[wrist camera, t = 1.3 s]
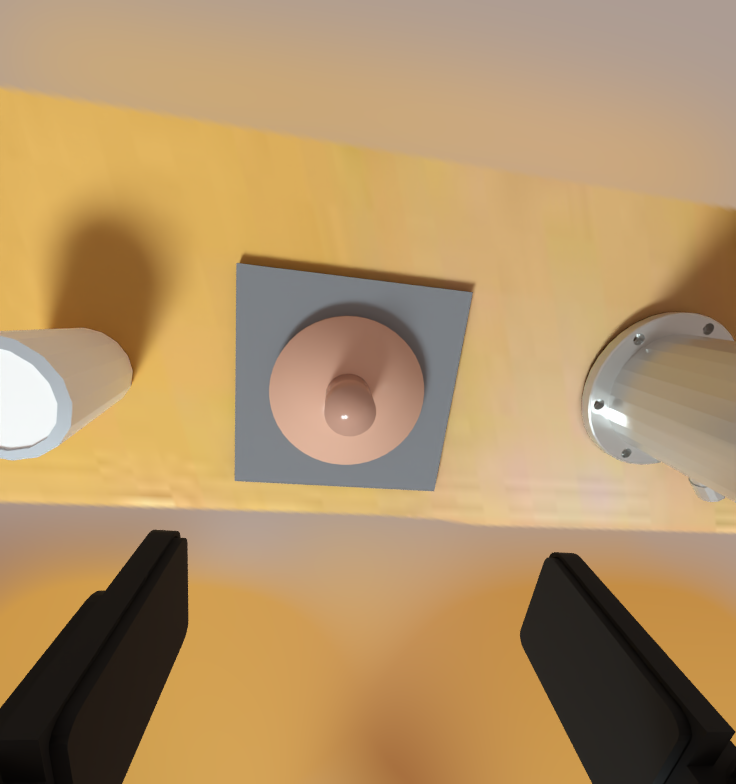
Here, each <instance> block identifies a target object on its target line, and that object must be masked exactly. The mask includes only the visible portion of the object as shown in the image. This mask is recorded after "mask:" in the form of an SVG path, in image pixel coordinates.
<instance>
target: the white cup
mask: <svg viewBox="0 0 736 784" xmlns="http://www.w3.org/2000/svg"><path fill="white" fill-rule="evenodd" d="M132 375H133V370H132V367H131V364H130V361H129V357H128V355H127V354H126V353H125V352H124V350H123V349H122V348H121V346H120V345H119V344H118V343H117V342H116V341H114V340H113V339H111V338H110V337H108V336H107V335H105V334H104V333H102V332H99V331H95V330H91V329H87V328H63V329H39V330H14V331H0V458H2V459H7V460H19V459H27V458H35V457H39V456H41V455H43V454H45V453H46V452H48V451H50V450H52V449H53V448H55V447H57V446H59V445H60V444H61V443H63V442H64V441H65V440H67V439H68V438H69V437H71V436H72V435H74V434H75V433H76V432H78V431H79V430H80V429H82V428H83V427H84V426H86V425H87V424H88V423H90V422H91V421H92V420H94V419H95V418H96V417H98V416H99V415H100V414H102V413H103V412H104V411H106V410H107V409H108V408H110V407H111V406H112V405H114V404H115V403H117V402H118V401H119V400H121V399H122V398H123V397H124V396H125V394H126V393H127V391H128V390H129V388H130V387H131V383H132Z"/></svg>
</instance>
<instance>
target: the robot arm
mask: <svg viewBox="0 0 736 784" xmlns="http://www.w3.org/2000/svg"><path fill="white" fill-rule="evenodd" d="M582 417H583V422H584V426H585V428H586V430H587V433H588V435H589V437H590V438H591V439H592V441H593V442H594V443H595V445H596V446H598V447H599V448H600V449H601V450H603V451H604V452H605V453H607V454H609V455H610V456H612V457H614V458H616V459H617V460H620V461H623V462H626V463H630V464H639V465H644V464H655V463H659V462H662V463H664V464H666V465H668V466H670V467H672V468H673V469H675V470H677V471H679V472H681V473H682V474H684V475H685V476H688V477H689V481H690V483H691V485H692V487H693V489H694V491H695V493H696V495H697V496H698V498H700V499H702V500H704V501H709V502H715V501H720V500H722V499H724V498H725V497H727V498H729V499H730V500H732V501H734V502H736V341H734V339H733V337H732V336H731V334H730V333H729V331H728V330H727V329H726V328H725V327H724V326H723V325H722V324H720V323H719V322H717V321H716V320H714V319H712V318H711V317H707V316H704V315H701V314H697V313H687V312H666V313H662V314H658V315H654V316H650V317H648V318H646V319H643V320H641V321H639V322H637V323H635V324H633V325H632V326H630V327H629V328H627V329H626V330H624V331H623V332H621V333H620V334H619V335H618V336H617V337H616V338H615V339H614V340H612V341H611V342H610V343H609V344H608V346H607V347H606V348H605V349H604V350H603V352H602V353H601V354H600V355H599V357H598V358H597V360H596V362H595V363H594V365H593V367H592V368H591V370H590V373H589V375H588V378H587V380H586V383H585V386H584V391H583V396H582ZM187 556H188V555H187V539H186V538H180V533H179V532H178V531H165V530H152V531H151V532H150V533H149V534H148V535H147V536H146V538H145V539H144V540H143V542H142V543H141V544H140V546H139V547H138V548H137V550H136V551H135V552H134V554H133V555H132V556H131V558H130V559H129V560H128V562H127V563H126V564H125V566H124V567H123V568H122V569H121V571H120V572H119V574H118V575H117V576H116V577H115V579H114V580H113V581H112V583H111V584H110V585H109V587H108V588H107V589H106V591H97V592H95V593H93V594H92V595H91V596H90V597H89V598H88V599H87V600H86V601H85V602H84V604H83V605H82V606H81V607H80V609H79V610H78V611H77V612H76V614H75V615H74V616H73V617H72V619H71V620H70V621H69V622H68V624H67V625H66V626H65V628H64V629H63V630H62V631H61V632H60V634H59V635H58V636H57V638H56V639H55V640H54V641H53V643H52V644H51V645H50V646H49V648H48V649H47V650H46V651H45V653H44V654H43V655H42V656H41V658H40V659H39V660H38V661H37V663H36V664H35V665H34V666H33V668H32V669H31V670H30V671H29V673H28V674H27V675H26V676H25V678H24V679H23V680H22V682H21V683H20V684H19V685H18V687H17V688H16V689H15V690H14V692H13V693H12V694H11V695H10V697H9V698H8V699H7V700H6V702H5V703H4V704H3V705H2V707H1V708H0V784H122V782H123V780H124V778H125V776H126V773H127V771H128V769H129V766H130V764H131V762H132V759H133V757H134V755H135V752H136V750H137V748H138V746H139V743H140V741H141V739H142V736H143V734H144V731H145V729H146V727H147V725H148V722H149V720H150V717H151V715H152V713H153V711H154V708H155V706H156V704H157V701H158V699H159V697H160V695H161V692H162V690H163V688H164V685H165V683H166V681H167V678H168V676H169V674H170V671H171V669H172V667H173V664H174V662H175V660H176V657H177V655H178V653H179V650H180V648H181V646H182V644H183V641H184V638H185V635H186V632H187V628H188V564H187V561H188V557H187ZM520 639H521V643H522V646H523V648H524V650H525V653H526V654H527V656H528V658H529V660H530V662H531V664H532V666H533V668H534V670H535V672H536V674H537V676H538V678H539V680H540V682H541V684H542V686H543V688H544V690H545V692H546V693H547V695H548V698H549V700H550V701H551V704H552V705H553V707H554V709H555V711H556V713H557V715H558V717H559V719H560V721H561V723H562V725H563V727H564V729H565V731H566V733H567V735H568V737H569V739H570V741H571V743H572V744H573V747H574V749H575V751H576V753H577V754H578V756H579V758H580V760H581V762H582V764H583V766H584V768H585V770H586V772H587V774H588V776H589V778H590V780H591V782H592V784H736V746H734V744H733V743H732V742H731V741H730V739H731V738H732V736H733V735H734V733H735V731H734V730H733V729H732V727H731V726H730V725H729V724H728V723H727V722H726V721H725V720H724V719H723V718H722V716H721V715H720V714H719V713H718V712H717V711H716V709H715V708H714V707H713V706H712V705H711V704H710V703H709V702H708V700H707V699H706V698H705V697H704V696H703V695H702V694H701V693H700V691H699V690H698V689H697V688H696V687H695V686H694V685H693V684H692V683H691V681H690V680H689V679H688V678H687V677H686V676H685V675H684V673H683V672H682V671H681V670H680V669H679V668H678V667H677V666H676V664H675V663H674V662H673V661H672V660H671V659H670V658H669V657H668V656H667V654H666V653H665V652H664V651H663V650H662V649H661V648H660V646H659V645H658V644H657V643H656V642H655V641H654V640H653V639H652V638H651V637H650V635H649V634H648V633H647V632H646V631H645V630H644V628H643V627H642V626H641V625H640V624H639V623H638V622H637V621H636V619H635V618H634V617H633V616H632V615H631V614H630V613H629V612H628V610H627V609H626V608H625V607H624V606H623V605H622V604H621V603H620V602H619V600H618V599H617V598H616V597H615V596H614V595H613V594H612V593H611V591H610V590H609V589H608V588H607V587H606V586H605V585H604V584H603V582H602V581H601V580H600V579H599V578H598V577H597V576H596V575H595V573H594V572H593V571H592V570H591V569H590V568H589V567H588V565H587V564H586V563H585V562H584V561H583V560H582V559H581V558H580V557H579V556H578V555H577V554H574V553H559V552H554V553H552V554H551V555H550V556H549V558H547V559H546V560H545V561H544V564H543V567H542V570H541V572H540V575H539V578H538V581H537V584H536V587H535V590H534V593H533V596H532V599H531V601H530V605H529V608H528V610H527V613H526V616H525V619H524V622H523V625H522V628H521V631H520Z"/></svg>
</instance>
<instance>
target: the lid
mask: <svg viewBox="0 0 736 784" xmlns="http://www.w3.org/2000/svg"><path fill="white" fill-rule="evenodd" d="M269 399H270V405H271V410H272V413H273V416H274V419H275V421H276V423H277V425H278V427H279V428H280V430H281V431H282V433H283V434H284V436H285V437H286V438H287V439H288V440H289V441H290V442H291V443H292V444H293V445H294V446H295V447H296V448H298V449H299V450H300V451H302V452H303V453H305V454H307V455H308V456H310V457H312V458H315V459H317V460H320V461H323V462H327V463H331V464H339V465H352V464H360V463H364V462H369V461H371V460H374V459H377V458H379V457H381V456H383V455H385V454H387V453H388V452H390V451H392V450H393V449H394V448H396V447H397V446H398V445H399V444H400V443H401V442H402V441H403V440H404V439H405V438H406V437H407V436H408V435H409V433H410V432H411V430H412V429H413V427H414V426H415V424H416V422H417V420H418V417H419V415H420V412H421V409H422V405H423V399H424V381H423V375H422V371H421V368H420V365H419V362H418V360H417V358H416V356H415V354H414V353H413V351H412V350H411V348H410V347H409V346H408V344H407V343H406V342H405V341H404V340H403V339H402V338H401V337H400V336H399V335H398V334H396V333H395V332H394V331H392V330H391V329H390V328H388V327H387V326H385V325H383V324H381V323H379V322H377V321H374V320H371V319H368V318H364V317H359V316H347V315H346V316H335V317H330V318H325V319H323V320H320V321H317V322H315V323H313V324H311V325H309V326H307V327H306V328H304V329H303V330H301V331H300V332H298V333H297V334H296V335H295V336H294V337H293V338H292V339H291V340H290V341H289V342H288V344H287V345H286V346H285V347H284V349H283V350H282V351H281V353H280V355H279V356H278V358H277V360H276V362H275V365H274V367H273V370H272V374H271V377H270V385H269Z"/></svg>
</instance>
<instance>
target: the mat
mask: <svg viewBox="0 0 736 784" xmlns="http://www.w3.org/2000/svg"><path fill="white" fill-rule="evenodd" d="M472 293H473V292H465V291H457V290H449V289H441V288H433V287H425V286H417V285H409V284H401V283H393V282H385V281H377V280H369V279H361V278H353V277H345V276H337V275H329V274H321V273H313V272H305V271H297V270H289V269H281V268H273V267H265V266H257V265H249V264H241V263H237V273H236V395H235V481H246V482H266V483H285V484H304V485H324V486H343V487H363V488H382V489H401V490H421V491H434V489H435V484H436V478H437V473H438V468H439V463H440V458H441V453H442V448H443V442H444V437H445V432H446V427H447V422H448V417H449V412H450V406H451V401H452V396H453V391H454V386H455V381H456V376H457V370H458V365H459V360H460V355H461V350H462V345H463V340H464V335H465V329H466V324H467V319H468V314H469V309H470V304H471V299H472ZM346 315H347V316H359V317H364V318H368V319H371V320H374V321H377V322H379V323H381V324H383V325H385V326H387V327H388V328H390V329H391V330H392V331H394V332H395V333H396V334H398V335H399V336H400V337H401V338H402V339H403V340H404V341H405V342H406V343H407V344H408V346H409V347H410V348H411V350H412V351H413V353H414V354H415V356H416V358H417V360H418V362H419V365H420V368H421V371H422V375H423V381H424V399H423V405H422V409H421V412H420V415H419V417H418V420H417V422H416V424H415V426H414V427H413V429H412V430H411V432H410V433H409V435H408V436H407V437H406V438H405V439H404V440H403V441H402V442H401V443H400V444H399V445H398V446H397V447H396V448H394V449H393V450H392V451H390V452H388V453H387V454H385V455H383V456H381V457H379V458H377V459H374V460H371V461H369V462H364V463H360V464H352V465H339V464H331V463H327V462H323V461H320V460H317V459H315V458H312V457H310V456H308V455H307V454H305V453H303V452H302V451H300V450H299V449H298V448H296V447H295V446H294V445H293V444H292V443H291V442H290V441H289V440H288V439H287V438H286V437H285V436H284V434H283V433H282V431H281V430H280V428H279V427H278V425H277V423H276V421H275V419H274V416H273V413H272V410H271V405H270V399H269V385H270V377H271V374H272V370H273V367H274V365H275V362H276V360H277V358H278V356H279V355H280V353H281V351H282V350H283V349H284V347H285V346H286V345H287V344H288V342H289V341H290V340H291V339H292V338H293V337H294V336H295V335H296V334H297V333H298V332H300V331H301V330H303V329H304V328H306V327H307V326H309V325H311V324H313V323H315V322H317V321H320V320H323V319H325V318H330V317H335V316H346Z"/></svg>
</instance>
